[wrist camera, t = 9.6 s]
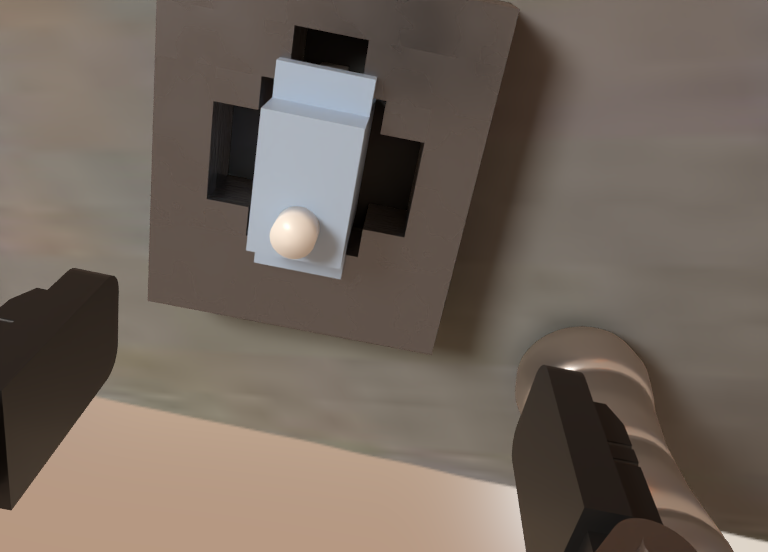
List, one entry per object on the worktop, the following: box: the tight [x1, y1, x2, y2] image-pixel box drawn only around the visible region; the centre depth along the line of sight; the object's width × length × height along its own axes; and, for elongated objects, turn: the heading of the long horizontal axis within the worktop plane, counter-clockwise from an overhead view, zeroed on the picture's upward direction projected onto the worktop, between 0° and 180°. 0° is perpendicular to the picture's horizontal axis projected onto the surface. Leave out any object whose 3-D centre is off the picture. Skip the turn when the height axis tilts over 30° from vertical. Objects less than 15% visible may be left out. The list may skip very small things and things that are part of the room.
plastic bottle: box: [515, 326, 733, 552], centre depth 28 cm, size 6×7×20 cm
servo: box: [246, 57, 377, 279], centre depth 29 cm, size 9×4×7 cm, turn 169°
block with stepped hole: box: [148, 0, 520, 355], centre depth 31 cm, size 16×14×4 cm
